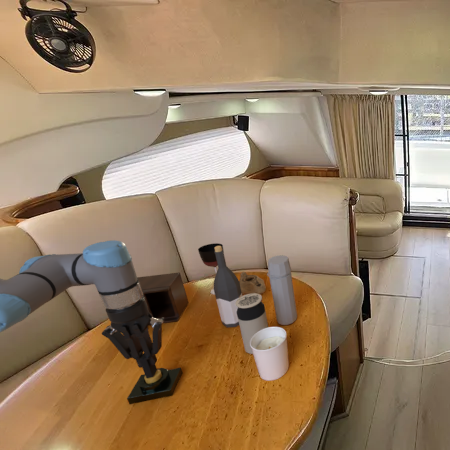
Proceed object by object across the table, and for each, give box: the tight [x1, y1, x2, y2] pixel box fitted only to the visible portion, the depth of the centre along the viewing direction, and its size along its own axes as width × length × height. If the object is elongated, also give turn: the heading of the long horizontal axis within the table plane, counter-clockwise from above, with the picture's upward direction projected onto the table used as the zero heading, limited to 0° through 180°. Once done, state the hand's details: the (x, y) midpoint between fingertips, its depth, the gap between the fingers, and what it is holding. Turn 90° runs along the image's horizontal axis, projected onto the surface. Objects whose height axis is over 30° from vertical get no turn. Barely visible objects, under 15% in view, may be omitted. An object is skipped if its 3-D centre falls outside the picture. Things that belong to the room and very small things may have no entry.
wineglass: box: [197, 242, 225, 296], centre depth 130 cm, size 8×9×20 cm
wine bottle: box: [213, 246, 243, 328], centre depth 109 cm, size 8×8×30 cm
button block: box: [126, 367, 184, 405], centre depth 87 cm, size 10×8×4 cm
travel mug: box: [236, 293, 269, 355], centre depth 99 cm, size 8×8×18 cm
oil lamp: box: [239, 271, 267, 295], centre depth 130 cm, size 11×15×8 cm
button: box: [144, 368, 162, 384], centre depth 86 cm, size 4×4×2 cm
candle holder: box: [250, 326, 290, 382], centre depth 91 cm, size 10×10×12 cm
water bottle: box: [266, 254, 298, 326], centre depth 111 cm, size 9×8×25 cm
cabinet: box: [137, 272, 190, 327], centre depth 115 cm, size 16×12×14 cm
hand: (151, 373), depth 86 cm, fingers closed
